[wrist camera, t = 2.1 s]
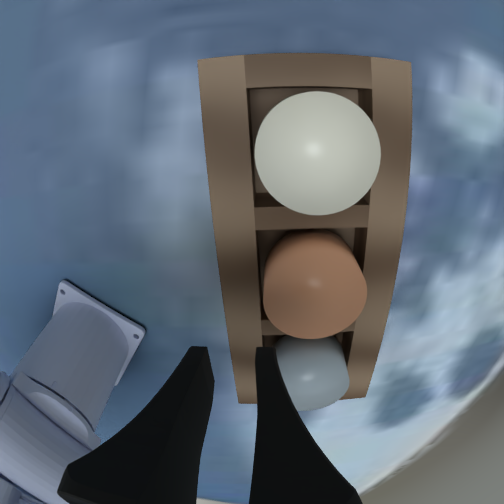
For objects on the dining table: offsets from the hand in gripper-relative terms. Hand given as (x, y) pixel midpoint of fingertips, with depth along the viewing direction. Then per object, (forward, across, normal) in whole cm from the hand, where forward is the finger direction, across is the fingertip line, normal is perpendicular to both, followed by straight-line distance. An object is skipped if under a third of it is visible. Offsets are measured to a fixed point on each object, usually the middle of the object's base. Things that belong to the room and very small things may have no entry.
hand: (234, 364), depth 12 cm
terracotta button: (+7, -4, 0) cm, 8 cm away
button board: (+9, -4, 0) cm, 10 cm away
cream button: (+7, -4, -7) cm, 10 cm away
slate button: (+7, -4, +7) cm, 11 cm away
